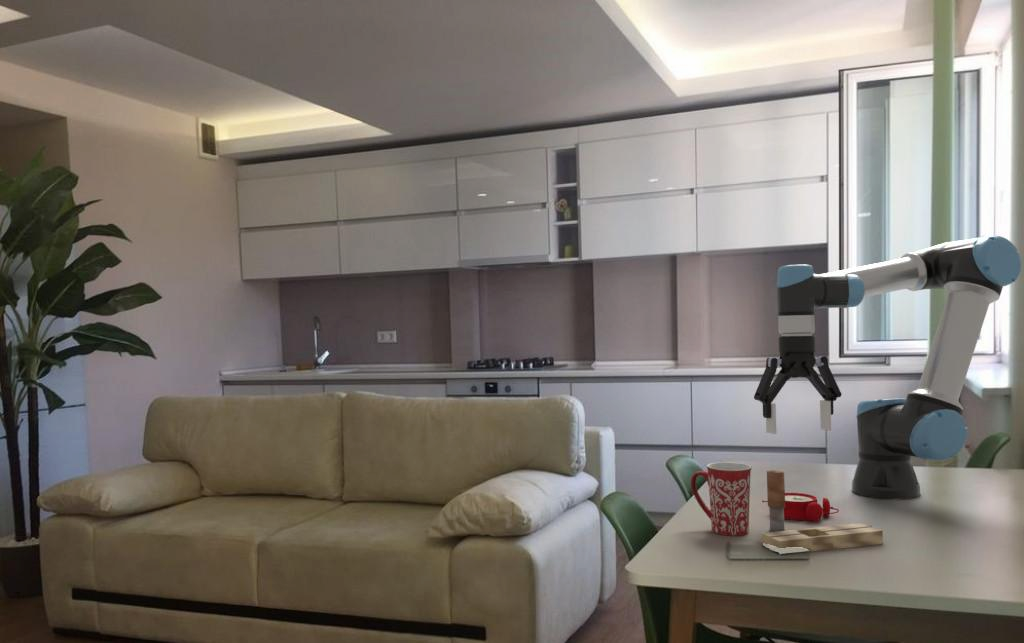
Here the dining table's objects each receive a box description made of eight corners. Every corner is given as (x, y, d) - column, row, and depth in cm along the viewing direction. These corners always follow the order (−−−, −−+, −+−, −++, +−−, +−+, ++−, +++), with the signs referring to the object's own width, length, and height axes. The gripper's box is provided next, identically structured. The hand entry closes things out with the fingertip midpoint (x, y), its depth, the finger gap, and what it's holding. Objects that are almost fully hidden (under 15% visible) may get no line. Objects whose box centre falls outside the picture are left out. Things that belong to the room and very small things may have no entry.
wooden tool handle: (779, 527, 160) (778, 469, 160) (789, 531, 157) (787, 472, 157) (765, 529, 160) (763, 471, 160) (774, 533, 156) (772, 473, 156)
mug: (760, 529, 160) (758, 464, 160) (744, 539, 152) (741, 471, 153) (702, 521, 167) (700, 459, 167) (684, 530, 160) (682, 465, 160)
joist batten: (861, 535, 153) (861, 522, 153) (883, 543, 147) (882, 530, 147) (762, 546, 147) (761, 532, 147) (780, 554, 142) (779, 540, 142)
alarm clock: (778, 491, 179) (841, 484, 169) (784, 518, 178) (848, 513, 168) (756, 499, 172) (821, 492, 162) (763, 527, 171) (829, 522, 161)
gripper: (834, 333, 177) (837, 426, 177) (736, 336, 171) (738, 432, 171) (856, 333, 170) (859, 430, 169) (754, 336, 164) (757, 436, 163)
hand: (798, 431), depth 170 cm, fingers open, 13 cm apart
